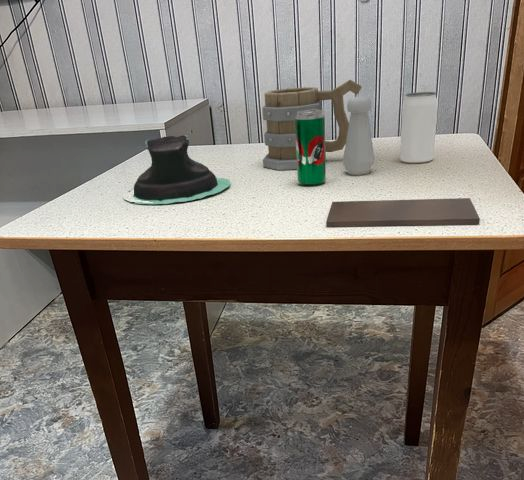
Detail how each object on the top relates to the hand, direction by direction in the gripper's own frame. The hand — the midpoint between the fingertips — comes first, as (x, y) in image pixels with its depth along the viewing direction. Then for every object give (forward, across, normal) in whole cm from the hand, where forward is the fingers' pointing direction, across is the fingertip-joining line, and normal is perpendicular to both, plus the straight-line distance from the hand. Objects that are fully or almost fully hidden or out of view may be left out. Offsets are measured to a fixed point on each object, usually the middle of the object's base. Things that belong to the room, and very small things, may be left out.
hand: (363, 2), depth 96 cm
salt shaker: (+28, -11, 0) cm, 30 cm away
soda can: (+28, -18, +8) cm, 34 cm away
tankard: (+28, 0, +10) cm, 29 cm away
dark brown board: (+27, -38, -8) cm, 48 cm away
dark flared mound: (+28, -20, +33) cm, 48 cm away
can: (+27, -2, -11) cm, 30 cm away
